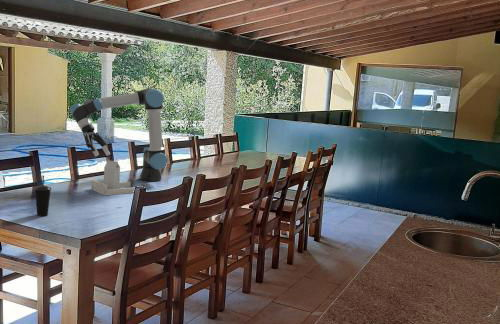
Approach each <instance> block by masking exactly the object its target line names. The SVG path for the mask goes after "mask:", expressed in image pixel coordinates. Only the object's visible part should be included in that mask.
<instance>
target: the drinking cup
mask: <svg viewBox="0 0 500 324" xmlns="http://www.w3.org/2000/svg"><path fill="white" fill-rule="evenodd" d="M41 183H42V185H39V186H37V187H36V186H35V187H34V193H35V194H34V195H35V204H36V205H35V206H36V216H37V215H38V216H37V217H47V216H48V215H49V208H50V207H49V206H50V199H51V190H52V187H50V186H48V185H45V184H44V183H45V175H42V180H41Z"/></svg>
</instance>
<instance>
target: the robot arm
mask: <svg viewBox="0 0 500 324" xmlns="http://www.w3.org/2000/svg"><path fill="white" fill-rule="evenodd" d="M164 102H165V97H164V94H163V93H162V92H161V90H159V89H157V88H151V87H150V88H143V89H141V90H136V91H134V92H132V93H126V94H119V95H118V94H117V95H111V96H104V97H98V98H89V99H86V100H85V101H84V102H83V104H80V103H74V104H73V105H72V106H70V107H69V111H70V114H71V116H72V117H73V119H74V121H76V123H77V125H78V127H79V129H80V130H81V132H82V134H83V135H82V136H83V137H84V140H85V145H86V147H87V148H88V149H90V151H92V153H93V155H94V157H98V156H99V155H100V153H99V151H98V149H97V148H96V146H95V144H94V142H96V143H97V144H98V145H99V146H101V148H102V150H103V152H104V154H105V155H106V156H107V157H108V156H110V155H111V152H110V151H109V148H108V147H107V145H108V144H107V142H106V141H105V140H104V139H103V138H102V136H100V134H99V133H98V132H95V126H94V125H93V124H92V121H91V120H90V119H89V116H91V115H93V114H95V113H97V112H100V111H101V110H107V109H114V108H118V107H119V108H120V107H127V106H130V105H131V106H132V105H137V106H141V105H142V106H144V110H145V112H146V113H147V123H148V125H147V126H148V136H149V137H148V138H149V147H144V148H143V151H142V152H143V157H142V159H143V160H142V169H141V173H140V175H139V180H141V181H145V182H160V181H162V175H161V171H160V170H162V169H164V168H165V167H166V166H167V165H168V160H169V159H168V157H167V155H166V148H165V147H164V146H163V134H162V133H163V132H162V116H161V115H162V113H161V111H162V110H163V107H164V106H163V103H164Z"/></svg>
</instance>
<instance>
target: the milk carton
mask: <svg viewBox="0 0 500 324" xmlns="http://www.w3.org/2000/svg"><path fill="white" fill-rule="evenodd" d="M120 174H121V166H120V164H119V161H116V160H108V159H107V161H106V163H105V165H104V168H103V183H104V184H106V185H107V189H120V187H119V182H121V181H120V177H121V175H120Z"/></svg>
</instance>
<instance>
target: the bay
mask: <svg viewBox="0 0 500 324" xmlns="http://www.w3.org/2000/svg"><path fill="white" fill-rule="evenodd" d="M133 183H134V178H129V181H119V189H107V185H106V184H104V182H101V181H98V180H96V179H91V190H93V191H95V192H97V193H99V194H101V195H103V196H109V195H121V194H122V195H123V194H134V193H133V191H134V188H135V187H136V186H134V187H133ZM141 185H142V186H143V187H145V188H146V183H142V184H141ZM142 186H141V187H142Z"/></svg>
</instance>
